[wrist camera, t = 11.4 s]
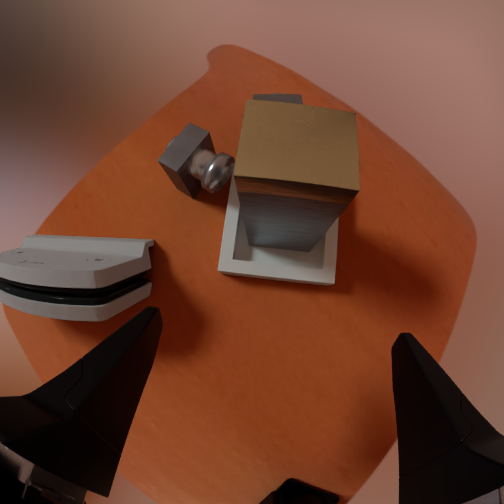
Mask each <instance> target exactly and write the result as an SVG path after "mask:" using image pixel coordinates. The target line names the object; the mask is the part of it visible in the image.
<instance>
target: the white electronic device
mask: <svg viewBox="0 0 504 504" xmlns="http://www.w3.org/2000/svg"><path fill="white" fill-rule="evenodd" d="M151 246H154V240H148V239H127V238H105V237H82V236H58V235H31V236H26V237H25V239H24V241H23V243H22V245H21V247H20V248H16V249H12V250H9V251H5V252H2V253H0V301H1V302H3V303H4V304H6V305H8V306H10V307H12V308H14V309H17V310H20V311H22V312H26V313H29V314H33V315H37V316H43V317H48V318H54V319H63V320H74V321H103V320H107V319H109V318H111V317H113V316H114V315H116V314H118V313H120V312H121V311H123V310H125V309H127V308H129V307H130V306H132V305H134V304H136V303H138V302H139V301H141V300H143V299H145V298H146V297H148V296H149V295H150V292H151V287H152V283H149V282H148V279H146V278H138V277H140V276H143V275H145V274H147V270H148V269H151V268H152V267H151V261H150V256H149V250H148V247H151Z"/></svg>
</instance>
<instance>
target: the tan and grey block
mask: <svg viewBox="0 0 504 504" xmlns="http://www.w3.org/2000/svg"><path fill="white" fill-rule="evenodd" d="M234 180H235V184H236V189H237V193H238V198H239V203H240V207H241V212H242V217H243V221H244V226H245V230H246V235H247V240H248V244H249V246H256V247H265V248H274V249H283V250H292V251H301V252H310V251H311V250H312V249H313V247H314V246H315V245H316V244H317V243H318V241H319V240H320V239H321V238H322V237H323V235H324V234H325V233H326V232H327V231H328V229H329V228H330V227H331V226H332V224H333V223H334V222H335V221H336V220H337V218H338V217H339V216H340V215H341V213H342V212H343V211H344V210H345V208H346V207H347V206H348V205H349V203H350V202H351V201H352V200H353V198H354V197H355V196H356V195H357V193H358V192H359V191H360V182H359V155H358V138H357V125H356V113H351V112H346V111H341V110H335V109H329V108H323V107H316V106H309V105H302V104H294V103H285V102H275V101H263V100H247V101H246V106H245V111H244V117H243V123H242V128H241V134H240V140H239V145H238V151H237V157H236V163H235V169H234Z"/></svg>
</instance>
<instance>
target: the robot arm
mask: <svg viewBox="0 0 504 504" xmlns="http://www.w3.org/2000/svg"><path fill="white" fill-rule="evenodd" d="M162 327H163V323H162V318H161V313H160V310H159V308H157V307H152V306H148V307H146V308H145V309H144V310H142V311H141V312H140V313H138V314H137V315H136V316H135V317H133V318H132V319H131V320H129V321H128V322H127V323H125V324H124V325H123V326H122V327H120V328H119V329H118V330H116V331H115V332H114V333H113V334H111V335H110V336H109V337H107V338H106V339H105V340H104V341H102V342H101V343H100V344H98V345H97V346H96V347H95V348H93V349H92V350H91V351H90V352H88V353H87V354H86V355H85V356H83V357H82V358H81V359H79V360H78V361H77V362H76V363H74V364H73V365H72V366H70V367H69V368H68V369H66V370H65V371H64V372H62V373H61V374H59V375H58V376H56V377H55V378H53V379H51V380H50V381H48V382H47V383H45V384H44V385H42V386H41V387H39V388H37V389H36V390H34V391H32V392H31V393H29V394H26V395H22V396H10V397H0V504H86V502H85V497H86V494H87V491H88V490H89V491H91V492H94V493H97V494H99V495H102V496H104V497H108V496H109V493H110V490H111V487H112V483H113V480H114V477H115V473H116V470H117V467H118V464H119V460H120V457H121V454H122V451H123V448H124V445H125V441H126V438H127V435H128V432H129V429H130V427H131V424H132V421H133V418H134V415H135V412H136V409H137V406H138V404H139V401H140V398H141V395H142V392H143V390H144V387H145V384H146V382H147V379H148V376H149V374H150V371H151V368H152V365H153V362H154V359H155V355H156V351H157V347H158V343H159V339H160V335H161V331H162ZM391 355H392V381H393V393H394V402H395V411H396V422H397V435H398V451H399V477H400V478H399V504H504V436H503V435H502V434H500V433H499V432H497V431H496V430H495V428H494V427H493V426H492V425H491V424H490V423H489V422H488V421H487V420H486V419H485V418H484V417H483V416H482V415H481V414H480V413H479V412H478V410H477V409H476V408H475V407H474V406H473V405H472V404H471V402H470V401H469V400H468V399H467V398H466V396H465V395H464V394H463V393H462V392H461V390H460V389H459V388H458V387H457V385H456V384H455V383H454V382H453V381H452V379H451V378H450V377H449V376H448V375H447V374H446V373H445V371H444V370H443V369H442V368H441V367H440V365H439V364H438V363H437V362H436V361H435V360H434V358H433V357H432V356H431V355H430V354H429V353H428V352H427V351H426V349H425V348H424V347H423V346H422V345H421V344H420V343H419V342H418V341H417V339H416V338H415V337H414V336H413V335H412V334H411V333H401V334H399V336H398V338H397V339H396V341H395V343H394V344H393V346H392V350H391ZM288 483H292V484H288ZM334 499H335V500H334ZM339 500H340V499H339V496H337V495H334V494H331V493H328V492H326V491H323V490H320V489H317V488H315V487H312V486H309V485H307V484H304V483H302V482H299V481H297V480H295V479H287V480H286V481H285V482H284V483H283V484H282V485H281V486H280V487H279V488H278V489H277V490H276V491H273V492H271V493H270V494H269V495H268V496H267V497H266V498H265V499H264V500H262V501H261V502H260V503H259V504H337V503H338V502H339Z"/></svg>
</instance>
